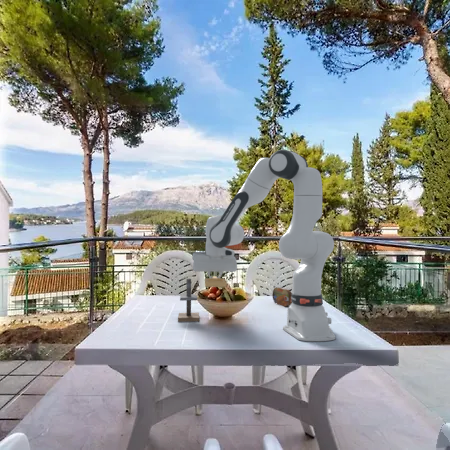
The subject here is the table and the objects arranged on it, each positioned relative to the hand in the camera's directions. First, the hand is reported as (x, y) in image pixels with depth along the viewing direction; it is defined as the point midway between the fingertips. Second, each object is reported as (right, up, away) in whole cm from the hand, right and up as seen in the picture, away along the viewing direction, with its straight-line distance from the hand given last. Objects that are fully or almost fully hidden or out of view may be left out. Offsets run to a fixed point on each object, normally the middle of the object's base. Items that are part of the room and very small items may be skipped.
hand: (214, 281), depth 175 cm
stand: (-11, -15, -8) cm, 20 cm away
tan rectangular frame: (0, 0, -4) cm, 4 cm away
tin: (+34, -15, +19) cm, 42 cm away
